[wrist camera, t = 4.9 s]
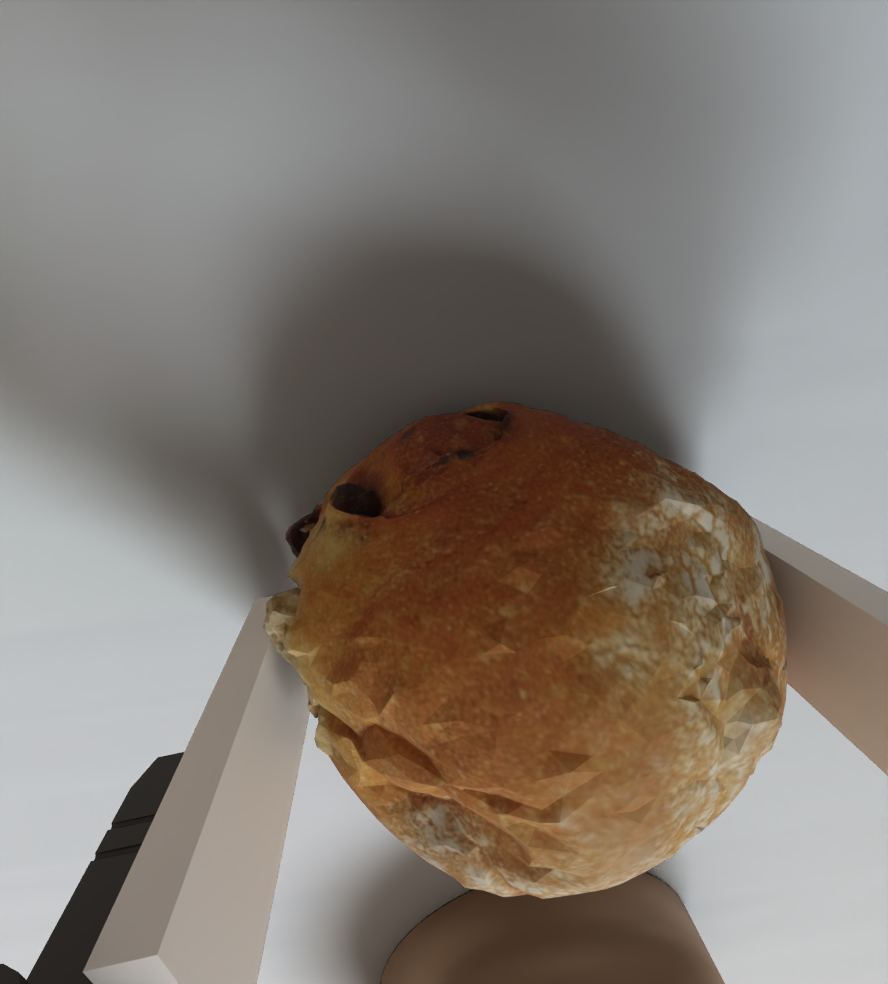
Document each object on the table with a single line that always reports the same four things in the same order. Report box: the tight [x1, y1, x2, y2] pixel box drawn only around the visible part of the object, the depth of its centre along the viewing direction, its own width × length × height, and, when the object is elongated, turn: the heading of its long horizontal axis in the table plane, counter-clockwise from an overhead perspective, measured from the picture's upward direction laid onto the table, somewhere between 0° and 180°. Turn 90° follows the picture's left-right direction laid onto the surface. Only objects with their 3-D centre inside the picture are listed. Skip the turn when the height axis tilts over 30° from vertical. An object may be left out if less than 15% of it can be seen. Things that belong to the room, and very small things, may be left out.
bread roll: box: [263, 402, 787, 899], centre depth 10 cm, size 10×10×8 cm
